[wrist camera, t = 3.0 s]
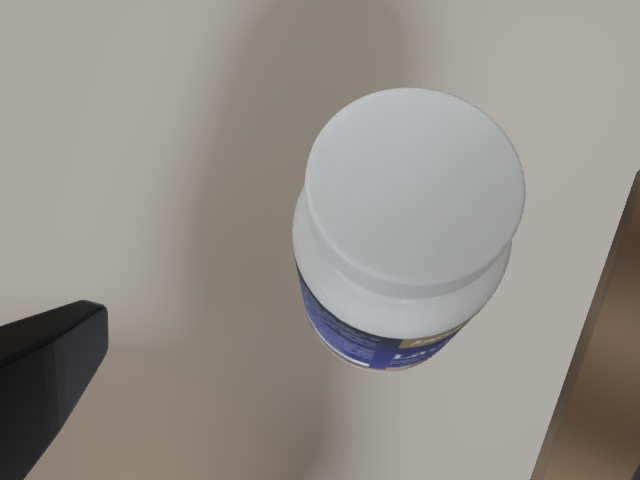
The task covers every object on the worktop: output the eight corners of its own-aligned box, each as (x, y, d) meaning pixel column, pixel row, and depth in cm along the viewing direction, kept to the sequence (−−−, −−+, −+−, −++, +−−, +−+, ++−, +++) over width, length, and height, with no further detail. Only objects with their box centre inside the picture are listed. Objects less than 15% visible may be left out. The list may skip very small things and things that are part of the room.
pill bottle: (405, 407, 20) (462, 370, 10) (275, 316, 21) (221, 210, 12) (487, 277, 21) (600, 143, 12) (360, 199, 23) (373, 23, 13)
